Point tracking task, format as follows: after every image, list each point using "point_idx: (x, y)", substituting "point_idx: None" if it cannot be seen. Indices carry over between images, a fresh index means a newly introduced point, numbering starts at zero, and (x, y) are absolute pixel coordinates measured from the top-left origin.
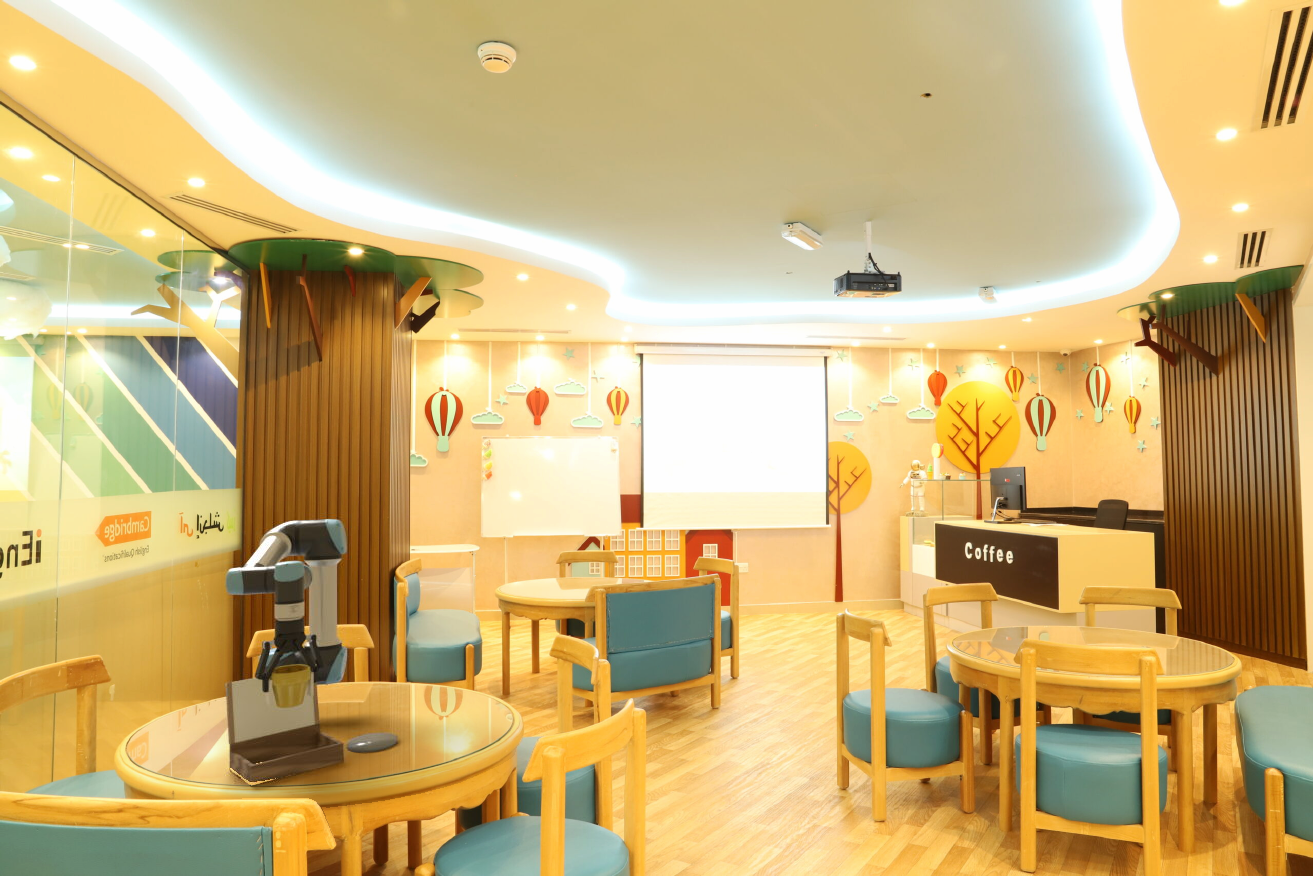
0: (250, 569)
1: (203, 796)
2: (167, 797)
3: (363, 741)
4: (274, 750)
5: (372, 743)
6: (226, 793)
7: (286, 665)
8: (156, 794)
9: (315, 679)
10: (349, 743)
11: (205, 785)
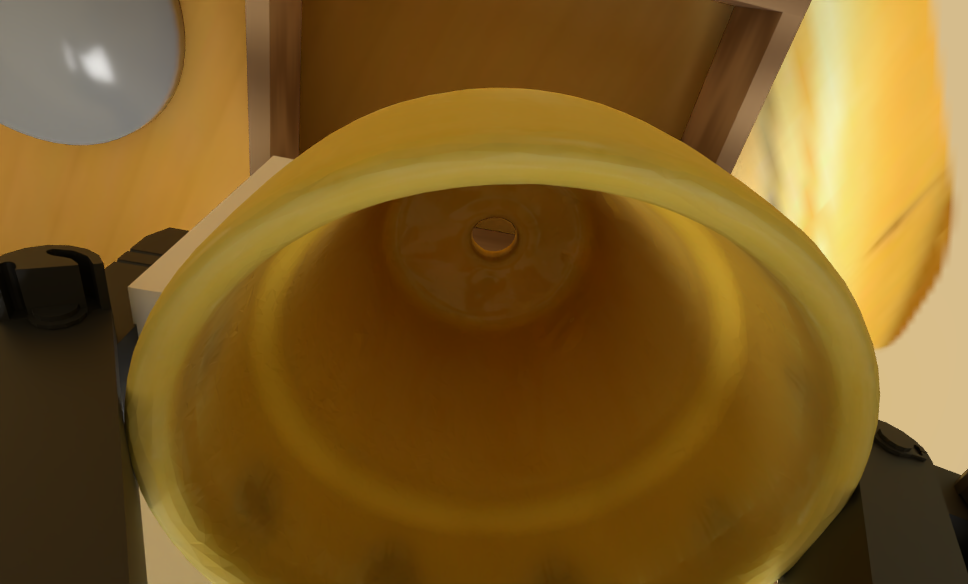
0: None
1: (913, 74)
2: (942, 199)
3: (77, 33)
4: (483, 247)
5: None
6: (863, 10)
7: None
8: (918, 263)
9: (153, 249)
10: (155, 77)
11: (800, 196)
